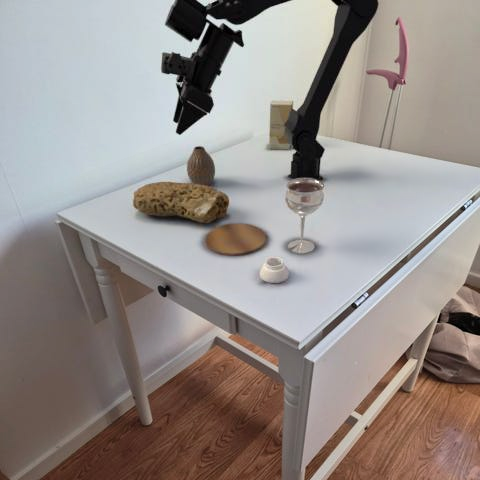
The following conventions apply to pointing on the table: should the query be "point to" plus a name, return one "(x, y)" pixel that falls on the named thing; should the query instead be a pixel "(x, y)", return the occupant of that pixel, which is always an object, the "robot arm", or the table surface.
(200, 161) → the vase
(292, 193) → the wineglass
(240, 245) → the coaster
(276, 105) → the cosmetic box
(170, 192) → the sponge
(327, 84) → the robot arm
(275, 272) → the lidless jar
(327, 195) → the table surface
